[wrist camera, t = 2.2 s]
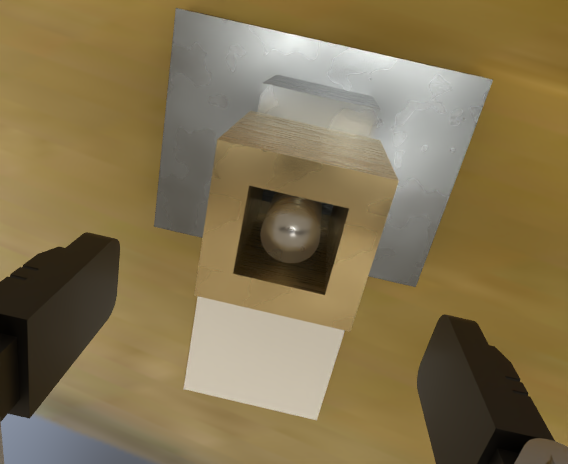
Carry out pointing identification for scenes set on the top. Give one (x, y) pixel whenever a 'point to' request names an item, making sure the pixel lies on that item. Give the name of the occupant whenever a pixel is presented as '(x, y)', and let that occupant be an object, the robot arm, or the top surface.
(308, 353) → the pad
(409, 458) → the top surface
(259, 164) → the collar
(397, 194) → the gray base plate
